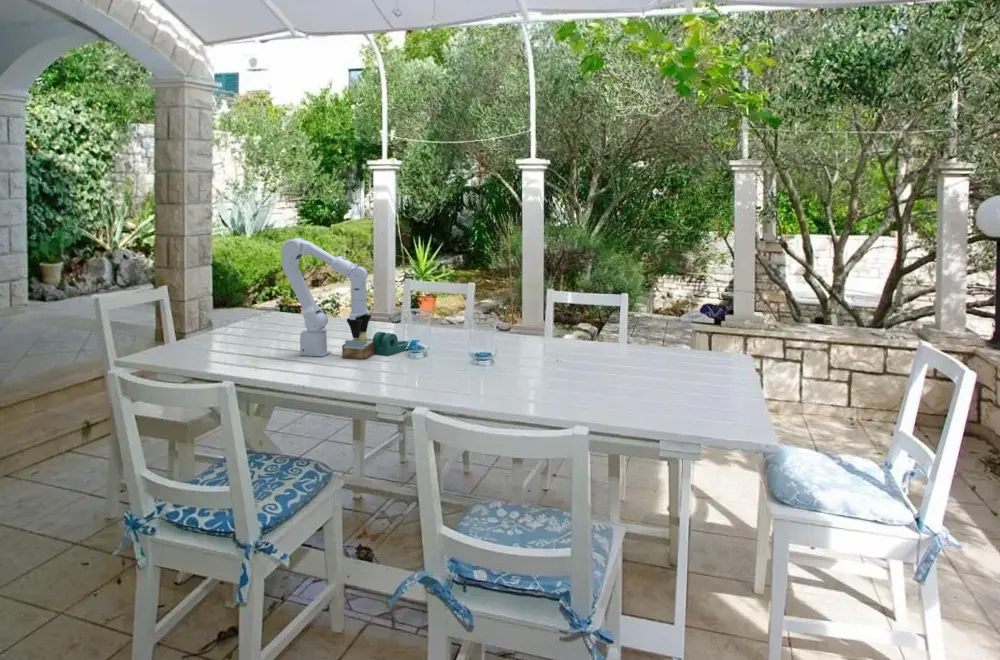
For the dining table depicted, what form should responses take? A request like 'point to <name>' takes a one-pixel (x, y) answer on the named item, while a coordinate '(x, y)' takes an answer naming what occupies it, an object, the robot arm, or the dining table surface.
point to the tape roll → (361, 337)
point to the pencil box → (358, 352)
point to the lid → (356, 344)
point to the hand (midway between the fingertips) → (359, 335)
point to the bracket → (388, 344)
